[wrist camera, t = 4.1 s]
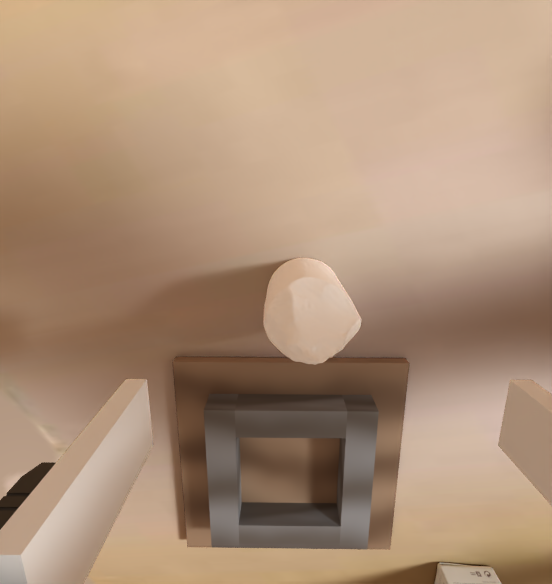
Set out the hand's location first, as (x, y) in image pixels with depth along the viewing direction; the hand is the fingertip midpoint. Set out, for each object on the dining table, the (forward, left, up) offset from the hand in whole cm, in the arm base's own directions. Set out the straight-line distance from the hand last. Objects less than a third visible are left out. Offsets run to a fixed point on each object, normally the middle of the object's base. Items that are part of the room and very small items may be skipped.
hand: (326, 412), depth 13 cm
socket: (+16, -1, -17) cm, 24 cm away
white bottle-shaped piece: (0, 0, -18) cm, 18 cm away
